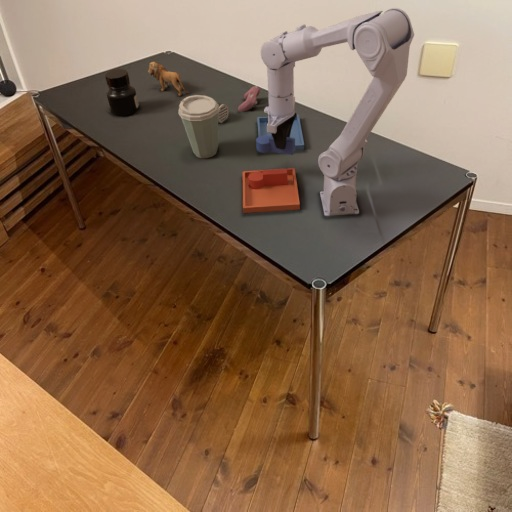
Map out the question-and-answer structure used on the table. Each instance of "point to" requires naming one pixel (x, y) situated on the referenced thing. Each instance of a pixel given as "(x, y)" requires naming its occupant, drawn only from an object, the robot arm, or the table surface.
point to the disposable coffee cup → (201, 124)
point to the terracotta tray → (271, 195)
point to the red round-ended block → (268, 178)
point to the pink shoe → (250, 99)
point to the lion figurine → (165, 77)
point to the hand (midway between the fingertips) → (282, 145)
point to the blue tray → (295, 133)
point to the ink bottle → (121, 93)
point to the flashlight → (222, 111)
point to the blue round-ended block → (268, 145)
